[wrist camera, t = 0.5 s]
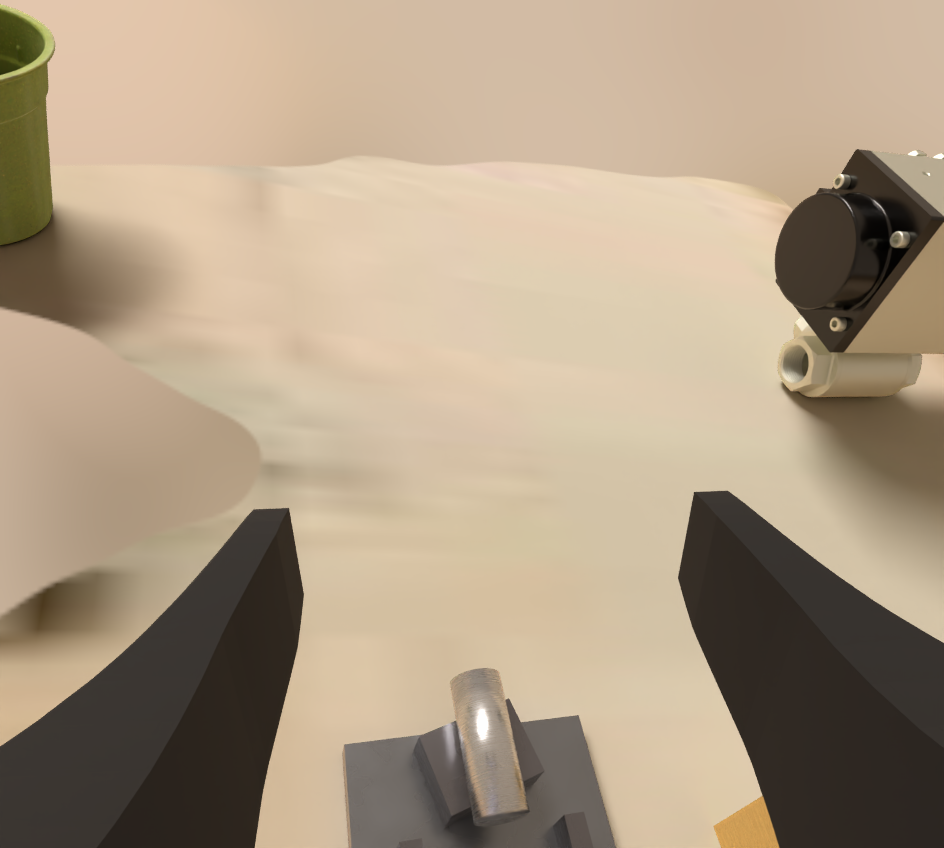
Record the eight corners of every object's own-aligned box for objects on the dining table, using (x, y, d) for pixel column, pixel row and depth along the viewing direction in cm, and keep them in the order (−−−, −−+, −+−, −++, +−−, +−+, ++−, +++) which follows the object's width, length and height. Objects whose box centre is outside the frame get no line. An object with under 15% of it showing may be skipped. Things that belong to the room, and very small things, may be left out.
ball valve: (889, 343, 59) (1060, 135, 46) (956, 421, 53) (1170, 208, 41) (697, 340, 54) (830, 104, 41) (749, 425, 48) (920, 183, 35)
